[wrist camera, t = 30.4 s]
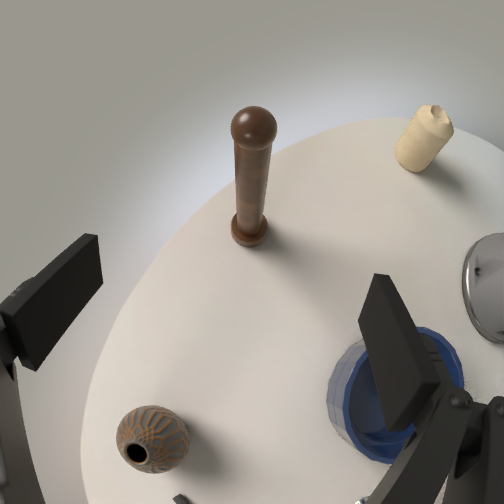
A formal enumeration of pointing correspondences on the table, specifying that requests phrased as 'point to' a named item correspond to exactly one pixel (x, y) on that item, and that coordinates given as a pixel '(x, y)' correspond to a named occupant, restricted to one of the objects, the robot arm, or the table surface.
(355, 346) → the blue bowl
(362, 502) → the wineglass
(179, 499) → the ladle
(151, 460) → the vase
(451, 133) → the candle
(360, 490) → the table surface
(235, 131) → the brown wooden post
